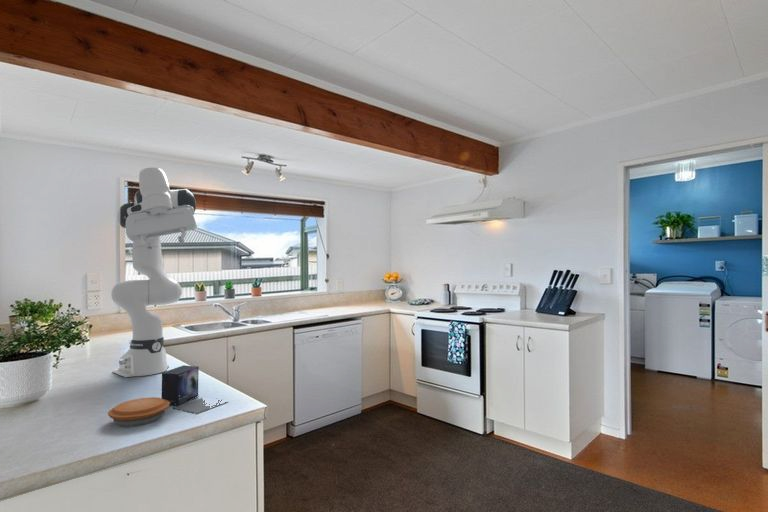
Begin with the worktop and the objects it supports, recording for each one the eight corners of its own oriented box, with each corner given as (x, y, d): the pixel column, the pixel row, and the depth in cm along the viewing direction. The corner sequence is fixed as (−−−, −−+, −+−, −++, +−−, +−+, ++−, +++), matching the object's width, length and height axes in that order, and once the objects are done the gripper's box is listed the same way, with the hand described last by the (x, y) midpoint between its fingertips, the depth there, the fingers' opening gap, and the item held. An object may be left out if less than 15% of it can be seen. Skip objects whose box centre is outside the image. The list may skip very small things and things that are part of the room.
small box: (178, 407, 128) (178, 373, 129) (160, 406, 130) (160, 372, 130) (199, 396, 139) (199, 365, 139) (182, 395, 140) (182, 364, 140)
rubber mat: (172, 408, 127) (172, 407, 127) (205, 397, 138) (205, 396, 138) (196, 414, 122) (196, 413, 122) (228, 402, 133) (228, 401, 133)
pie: (100, 421, 117) (100, 403, 118) (158, 407, 129) (158, 391, 129) (117, 435, 107) (117, 416, 107) (178, 418, 119) (178, 401, 119)
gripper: (194, 208, 141) (202, 243, 136) (127, 220, 134) (133, 256, 129) (191, 198, 136) (199, 233, 131) (121, 209, 128) (126, 247, 124)
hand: (165, 245), depth 130 cm, fingers open, 8 cm apart
